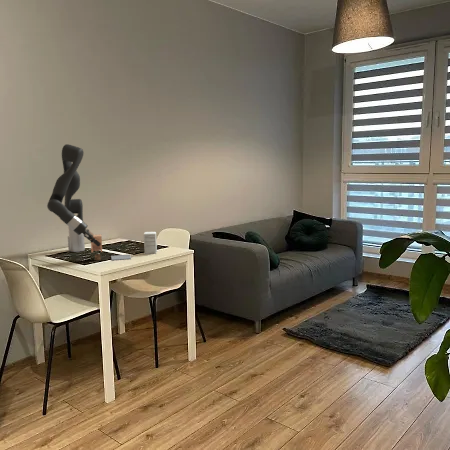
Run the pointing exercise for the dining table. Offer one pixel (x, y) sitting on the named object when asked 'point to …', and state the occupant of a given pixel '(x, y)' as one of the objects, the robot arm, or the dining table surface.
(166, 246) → the dining table surface
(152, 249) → the supplement box
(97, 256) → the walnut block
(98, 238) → the terracotta cover
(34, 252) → the dining table surface
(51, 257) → the dining table surface
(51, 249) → the dining table surface
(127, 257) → the grey mat
